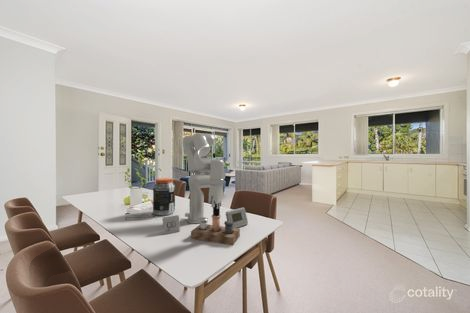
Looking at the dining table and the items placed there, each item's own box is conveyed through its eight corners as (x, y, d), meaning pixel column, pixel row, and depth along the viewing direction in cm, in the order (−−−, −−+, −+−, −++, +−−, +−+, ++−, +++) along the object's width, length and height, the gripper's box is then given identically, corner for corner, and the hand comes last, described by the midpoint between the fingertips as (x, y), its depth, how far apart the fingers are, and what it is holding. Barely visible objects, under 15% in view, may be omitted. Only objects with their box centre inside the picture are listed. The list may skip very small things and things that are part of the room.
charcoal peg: (222, 240, 103) (223, 223, 103) (226, 236, 108) (226, 220, 107) (231, 241, 102) (231, 224, 101) (234, 237, 106) (234, 221, 106)
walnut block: (190, 238, 105) (191, 231, 105) (201, 230, 116) (201, 223, 116) (233, 245, 97) (233, 237, 97) (239, 236, 109) (239, 228, 109)
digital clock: (228, 231, 116) (229, 213, 115) (222, 226, 123) (222, 209, 123) (251, 226, 124) (251, 209, 124) (243, 221, 132) (243, 206, 131)
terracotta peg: (210, 232, 105) (210, 216, 105) (213, 229, 110) (213, 213, 110) (218, 233, 104) (218, 217, 104) (221, 230, 108) (221, 214, 108)
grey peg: (197, 236, 108) (197, 219, 107) (201, 232, 112) (201, 217, 112) (205, 237, 106) (205, 221, 106) (209, 233, 111) (209, 218, 110)
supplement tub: (179, 212, 149) (179, 179, 148) (159, 217, 137) (159, 181, 136) (168, 208, 159) (168, 177, 159) (149, 213, 147) (149, 179, 147)
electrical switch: (163, 235, 109) (163, 218, 109) (161, 232, 113) (161, 216, 114) (180, 231, 114) (179, 215, 114) (177, 229, 118) (177, 214, 119)
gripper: (215, 180, 115) (215, 211, 115) (204, 183, 100) (203, 219, 100) (227, 180, 112) (227, 212, 112) (217, 184, 98) (217, 220, 98)
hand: (216, 215), depth 106 cm, fingers closed
